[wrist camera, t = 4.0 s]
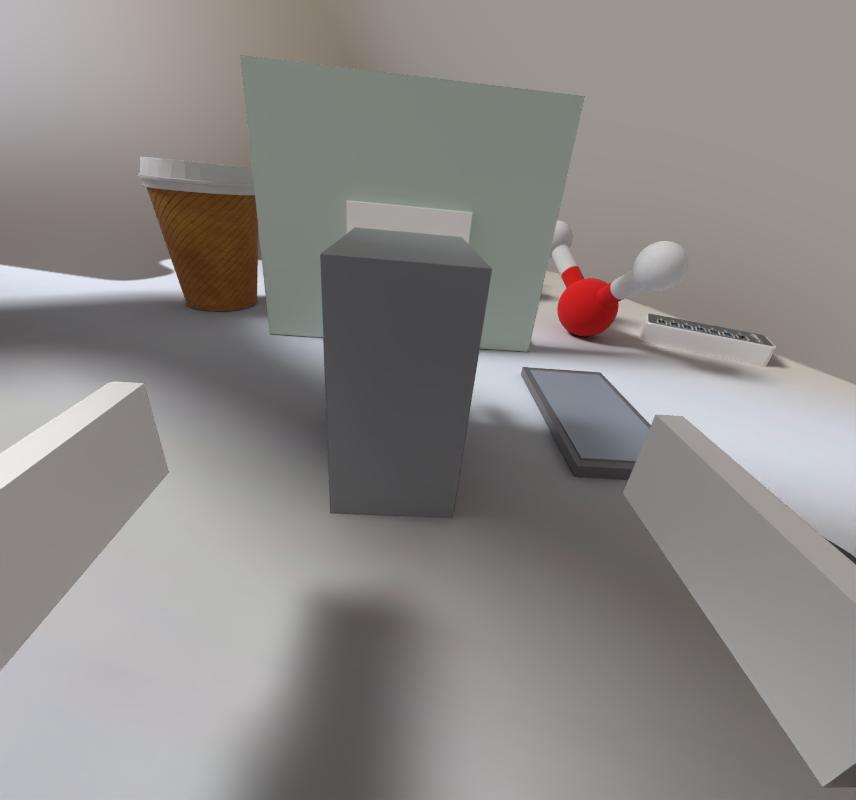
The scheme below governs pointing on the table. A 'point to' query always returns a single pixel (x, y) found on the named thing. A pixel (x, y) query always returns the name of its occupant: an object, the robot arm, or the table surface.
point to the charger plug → (399, 368)
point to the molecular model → (598, 301)
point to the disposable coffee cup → (207, 229)
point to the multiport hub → (707, 339)
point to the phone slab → (588, 421)
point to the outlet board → (404, 178)
